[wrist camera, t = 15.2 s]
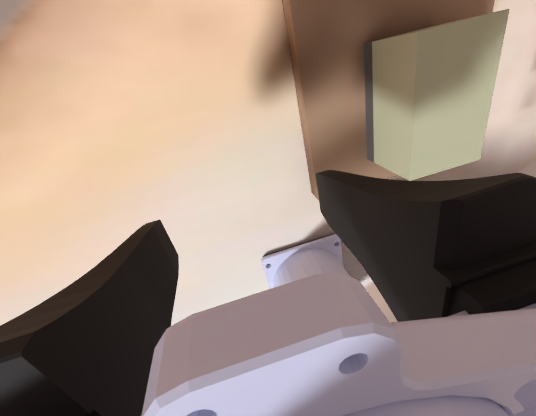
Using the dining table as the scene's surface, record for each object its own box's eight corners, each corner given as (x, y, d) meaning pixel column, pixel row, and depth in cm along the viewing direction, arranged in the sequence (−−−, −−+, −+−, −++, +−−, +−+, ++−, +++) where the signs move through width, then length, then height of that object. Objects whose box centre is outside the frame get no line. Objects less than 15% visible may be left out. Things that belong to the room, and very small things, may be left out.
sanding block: (423, 142, 21) (480, 159, 17) (366, 158, 21) (409, 181, 16) (432, 26, 17) (509, 8, 13) (363, 43, 17) (418, 32, 12)
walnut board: (454, 149, 24) (468, 153, 23) (311, 192, 23) (318, 199, 21) (495, -145, 15) (522, -166, 14) (267, -98, 14) (273, -115, 13)
